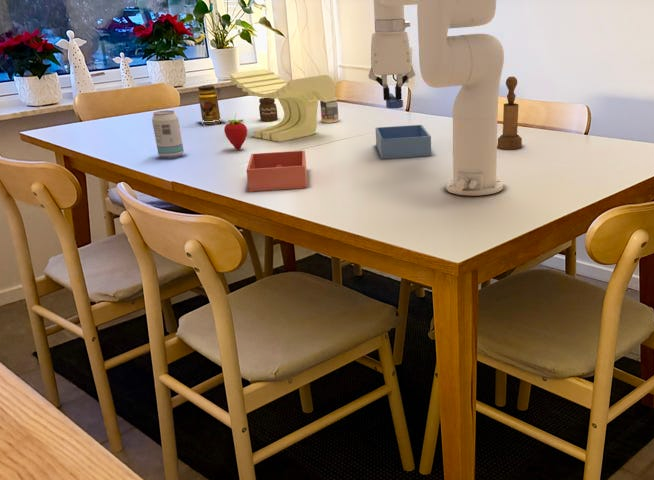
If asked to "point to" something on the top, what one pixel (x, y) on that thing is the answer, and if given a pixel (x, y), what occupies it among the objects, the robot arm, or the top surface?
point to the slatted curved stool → (288, 101)
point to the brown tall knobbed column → (510, 119)
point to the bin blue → (403, 141)
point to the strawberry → (236, 132)
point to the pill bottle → (329, 111)
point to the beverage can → (167, 134)
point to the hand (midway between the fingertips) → (392, 102)
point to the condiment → (209, 104)
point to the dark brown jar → (267, 109)
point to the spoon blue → (394, 102)
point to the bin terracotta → (277, 171)
